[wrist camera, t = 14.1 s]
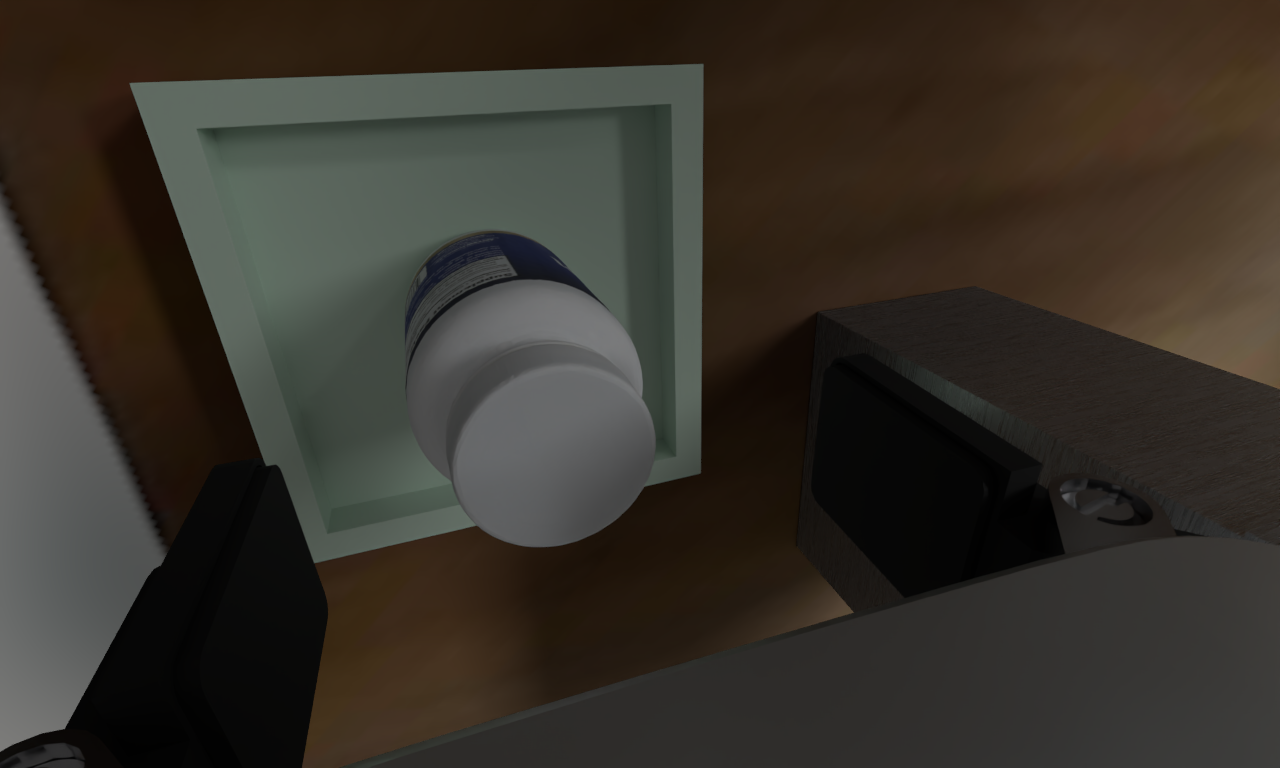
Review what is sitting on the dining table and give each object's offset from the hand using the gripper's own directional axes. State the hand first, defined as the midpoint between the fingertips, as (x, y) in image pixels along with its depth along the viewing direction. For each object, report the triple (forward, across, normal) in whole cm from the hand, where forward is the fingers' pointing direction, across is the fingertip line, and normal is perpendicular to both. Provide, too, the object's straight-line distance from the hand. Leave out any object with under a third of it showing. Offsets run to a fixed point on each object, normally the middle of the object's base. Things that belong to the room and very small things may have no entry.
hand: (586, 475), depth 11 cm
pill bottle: (+11, +1, +1) cm, 11 cm away
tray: (+11, +1, +1) cm, 11 cm away
